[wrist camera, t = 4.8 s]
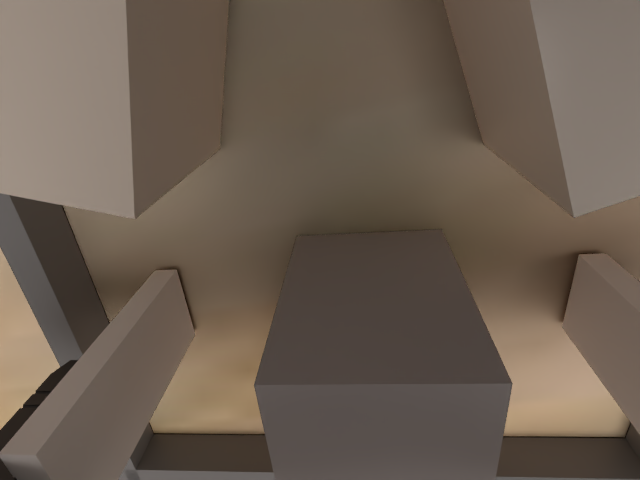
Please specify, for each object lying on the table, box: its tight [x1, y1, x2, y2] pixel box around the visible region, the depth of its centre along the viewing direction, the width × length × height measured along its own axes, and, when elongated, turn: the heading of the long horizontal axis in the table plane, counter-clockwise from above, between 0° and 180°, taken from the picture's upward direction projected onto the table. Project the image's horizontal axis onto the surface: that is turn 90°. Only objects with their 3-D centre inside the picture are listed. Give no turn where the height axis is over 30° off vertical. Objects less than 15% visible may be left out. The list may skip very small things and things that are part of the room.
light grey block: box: [0, 0, 229, 219], centre depth 8 cm, size 4×4×5 cm
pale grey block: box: [443, 0, 640, 218], centre depth 7 cm, size 4×4×5 cm
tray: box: [0, 193, 640, 480], centre depth 11 cm, size 20×21×2 cm
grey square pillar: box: [254, 229, 512, 480], centre depth 10 cm, size 4×4×6 cm
